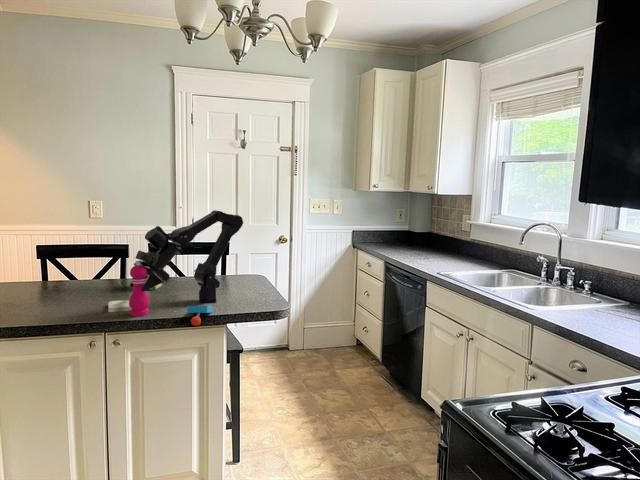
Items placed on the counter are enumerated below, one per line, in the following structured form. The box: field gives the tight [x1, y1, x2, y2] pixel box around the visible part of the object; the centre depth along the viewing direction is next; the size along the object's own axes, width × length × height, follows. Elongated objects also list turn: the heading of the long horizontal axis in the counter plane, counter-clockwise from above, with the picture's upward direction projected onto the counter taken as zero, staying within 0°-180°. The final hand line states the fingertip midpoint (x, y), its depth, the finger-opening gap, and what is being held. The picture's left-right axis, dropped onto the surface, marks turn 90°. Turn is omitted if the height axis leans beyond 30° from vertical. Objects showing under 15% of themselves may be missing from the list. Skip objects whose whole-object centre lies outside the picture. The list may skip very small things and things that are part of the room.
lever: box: [187, 305, 213, 327], centre depth 170 cm, size 7×7×18 cm
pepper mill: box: [128, 260, 151, 317], centre depth 172 cm, size 7×7×20 cm
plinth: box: [107, 299, 132, 313], centre depth 181 cm, size 10×10×2 cm
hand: (136, 288), depth 171 cm, fingers open, 9 cm apart
